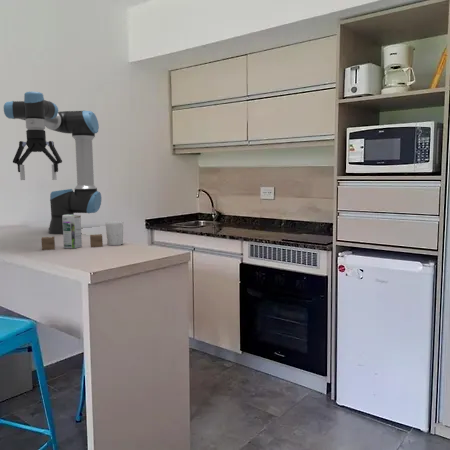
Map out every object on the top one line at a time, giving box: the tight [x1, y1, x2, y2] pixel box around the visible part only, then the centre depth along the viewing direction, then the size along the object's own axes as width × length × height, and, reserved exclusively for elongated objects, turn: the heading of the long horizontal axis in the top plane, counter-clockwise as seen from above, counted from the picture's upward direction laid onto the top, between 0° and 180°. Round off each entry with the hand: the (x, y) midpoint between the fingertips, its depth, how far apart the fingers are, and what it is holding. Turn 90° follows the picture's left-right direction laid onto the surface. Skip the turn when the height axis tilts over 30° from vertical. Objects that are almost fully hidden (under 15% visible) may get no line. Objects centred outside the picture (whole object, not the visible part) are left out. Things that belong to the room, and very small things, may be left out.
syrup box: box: [62, 214, 83, 250], centre depth 198 cm, size 6×6×14 cm
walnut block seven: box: [41, 236, 56, 251], centre depth 195 cm, size 5×5×5 cm
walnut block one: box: [89, 233, 104, 248], centre depth 202 cm, size 5×5×5 cm
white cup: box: [105, 221, 124, 246], centre depth 205 cm, size 8×8×10 cm
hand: (38, 180), depth 194 cm, fingers open, 13 cm apart
